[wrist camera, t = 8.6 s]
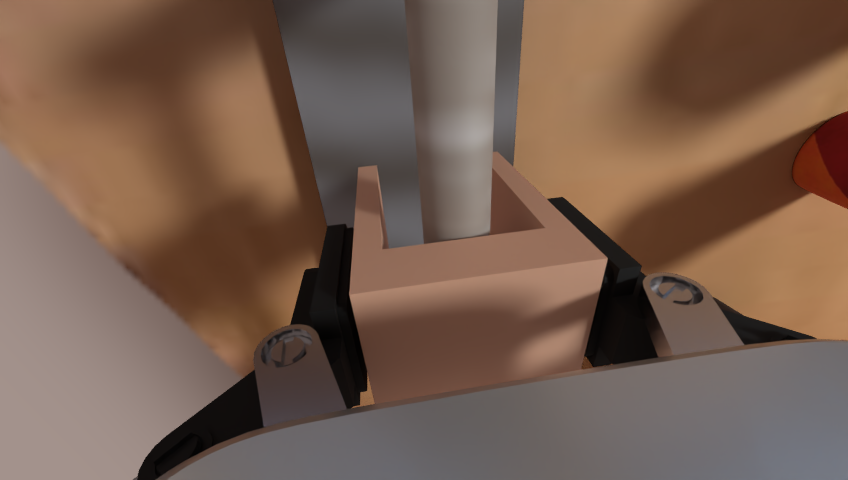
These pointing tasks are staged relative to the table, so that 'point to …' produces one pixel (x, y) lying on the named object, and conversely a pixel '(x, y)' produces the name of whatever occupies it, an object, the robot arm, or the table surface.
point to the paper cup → (825, 162)
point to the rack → (407, 106)
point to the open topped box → (472, 295)
